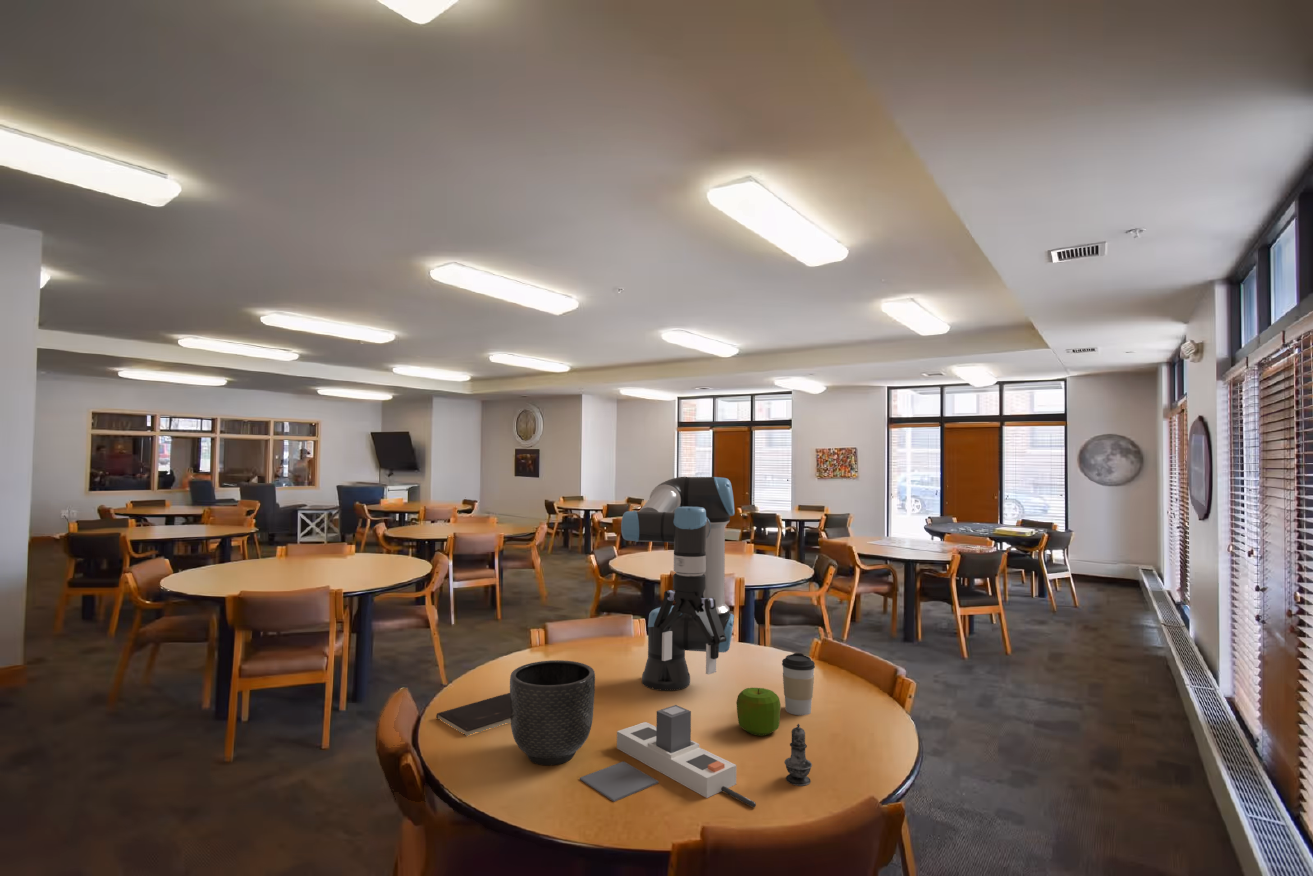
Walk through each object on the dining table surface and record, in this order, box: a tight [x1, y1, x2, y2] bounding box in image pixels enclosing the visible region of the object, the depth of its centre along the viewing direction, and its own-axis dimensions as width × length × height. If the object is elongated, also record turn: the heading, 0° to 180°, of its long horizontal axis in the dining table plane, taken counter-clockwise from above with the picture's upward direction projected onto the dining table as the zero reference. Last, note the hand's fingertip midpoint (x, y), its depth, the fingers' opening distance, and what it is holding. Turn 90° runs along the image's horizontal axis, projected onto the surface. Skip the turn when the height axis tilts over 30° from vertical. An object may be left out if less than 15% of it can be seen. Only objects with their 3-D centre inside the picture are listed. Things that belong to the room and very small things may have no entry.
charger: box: [656, 704, 692, 753], centre depth 145 cm, size 5×6×8 cm
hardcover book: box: [435, 692, 511, 737], centre depth 172 cm, size 16×23×2 cm
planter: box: [509, 659, 596, 766], centre depth 149 cm, size 20×20×19 cm
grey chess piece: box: [784, 723, 813, 787], centre depth 139 cm, size 6×6×12 cm
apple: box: [735, 687, 782, 737], centre depth 165 cm, size 11×11×11 cm
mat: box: [579, 761, 659, 803], centre depth 137 cm, size 12×12×1 cm
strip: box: [616, 721, 757, 808], centre depth 142 cm, size 39×9×5 cm, turn 41°
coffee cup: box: [781, 652, 816, 716], centre depth 179 cm, size 9×9×15 cm
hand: (688, 666), depth 148 cm, fingers open, 13 cm apart
